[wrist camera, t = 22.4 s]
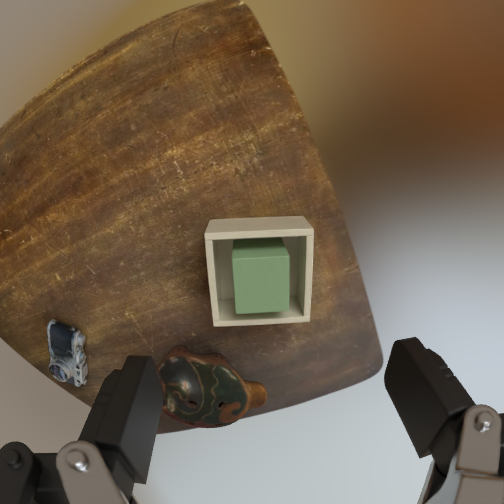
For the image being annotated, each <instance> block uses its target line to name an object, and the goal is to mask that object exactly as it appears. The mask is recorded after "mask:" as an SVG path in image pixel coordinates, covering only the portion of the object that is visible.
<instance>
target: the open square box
mask: <svg viewBox="0 0 504 504" xmlns="http://www.w3.org/2000/svg"><path fill="white" fill-rule="evenodd" d="M313 235H314V229H313V227H312V226H311V225H310V224H309V223H308V222H307V220H306V219H305V218H304V217H303V216H281V217H254V218H232V219H212V220H210V221H209V224H208V226H207V228H206V231H205V233H204V237H205V249H206V259H207V270H208V280H209V290H210V299H211V308H212V317H213V325H214V326H244V325H264V324H281V323H295V322H309V321H310V308H311V290H312V269H313V239H314V236H313ZM278 237H281V238H282V240H283V242H284V245H285V247H286V249H287V252H288V254H289V311H281V312H265V313H247V314H236V312H235V299H234V286H233V272H232V248H233V240H238V239H258V238H278Z"/></svg>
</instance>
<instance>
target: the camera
mask: <svg viewBox="0 0 504 504" xmlns="http://www.w3.org/2000/svg"><path fill="white" fill-rule="evenodd" d="M47 337H48V350H49V353H50V365H49V369H50V372H51V373H52V375H53V376H54V378H56V379H57V380H59V381H62V382H68V383H70V384H73V385H75V386H77V387H79V386H80V385H81V383H82V384H84V385H85V384H86V381H87V380H86V379H85V377H86V375H87V373H88V369H87V363H86V361H85V359H86V357H87V356H86V355H85V353H84V349H83V345H84V343H85V339H86V337H85V335H82V334H81V332H80V330H78V329H76V328H74V327H71V326H69V325H66V324H64V323H62V322H59V321H57V320H55V319H52V320H50V321H49V323H48V327H47Z"/></svg>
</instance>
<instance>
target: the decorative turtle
mask: <svg viewBox="0 0 504 504" xmlns="http://www.w3.org/2000/svg"><path fill="white" fill-rule="evenodd" d="M156 370H157V373H158V376H159V380H160V383H161V386H162V390H163V406H162V410H163V411H164V412H165V413H166V414H167V415H168V416H170V417H171V418H173V419H174V420H176V421H178V422H181V423H183V424H186V425H189V426H193V427H200V428H217V427H223V426H227V425H230V424H232V423H234V422H236V421H237V420H239V419H240V418H241V417H242V416H243V415H244V414H245V412H246V411H247V410H249V409H252V408H257V407H261V406H263V405H264V404H265V402H266V399H267V392H266V388H265V387H264V385H263V384H262V383H259V382H254V381H247V380H242V378H241V377H240V376H239V375H238V373H237V372H236V371H235V370H234V369H233V368H232V367H230V366H229V364H228V362H227V360H226V358H225V357H224V356H223V355H222V354H220V353H212V354H205V355H204V354H195V353H192V352H191V351H190V350H189V349H188V348H186V347H185V346H182V345H177V346H176V347H174V348H173V349H172V350H171V351H170V353H169V354H168V355H167V356H166V357H165V358H164V360H163V361H162V362H161V363H160V365H159V366H158V367H156Z"/></svg>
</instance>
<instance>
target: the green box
mask: <svg viewBox="0 0 504 504" xmlns="http://www.w3.org/2000/svg"><path fill="white" fill-rule="evenodd" d="M232 272H233V286H234V299H235V312H236V314H247V313H265V312H281V311H289V254H288V252H287V249H286V247H285V245H284V242H283V240H282V238H281V237H278V238H258V239H238V240H233V248H232Z"/></svg>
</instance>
